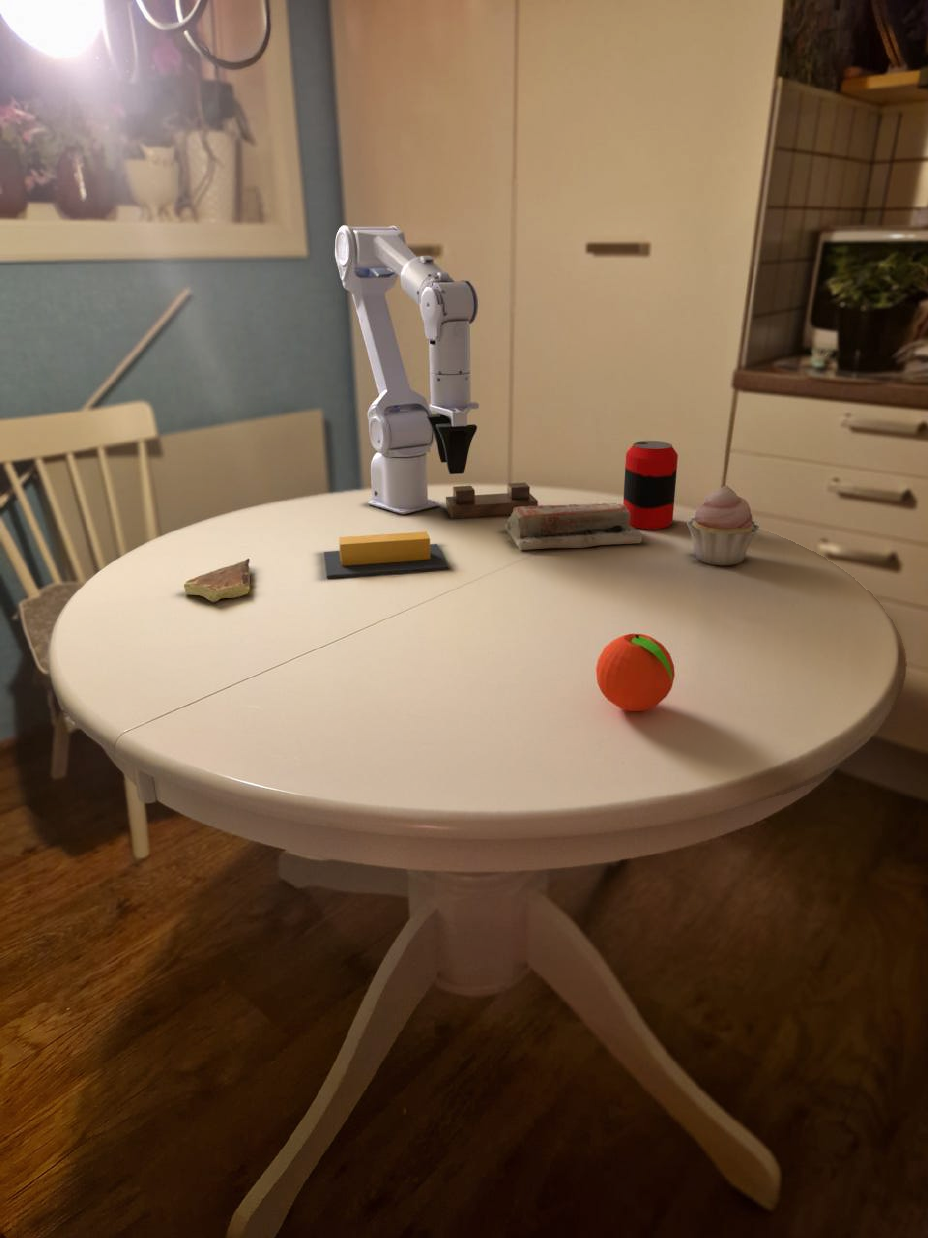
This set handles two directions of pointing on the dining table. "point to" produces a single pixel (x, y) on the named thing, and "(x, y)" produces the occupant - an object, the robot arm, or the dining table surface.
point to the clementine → (635, 672)
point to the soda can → (650, 484)
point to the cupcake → (722, 528)
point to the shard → (221, 582)
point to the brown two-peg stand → (488, 501)
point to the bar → (384, 548)
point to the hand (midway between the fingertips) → (451, 467)
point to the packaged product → (571, 526)
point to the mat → (383, 565)
